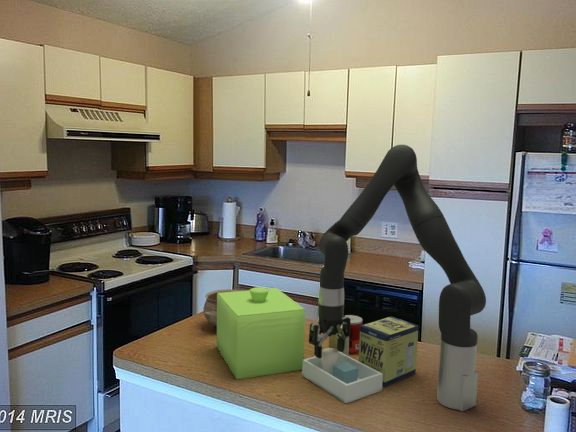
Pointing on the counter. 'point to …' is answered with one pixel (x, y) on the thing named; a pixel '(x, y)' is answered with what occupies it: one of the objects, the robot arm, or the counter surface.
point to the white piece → (329, 359)
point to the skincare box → (334, 343)
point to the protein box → (389, 348)
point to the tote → (364, 386)
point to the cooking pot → (213, 305)
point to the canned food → (354, 333)
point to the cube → (345, 372)
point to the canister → (260, 332)
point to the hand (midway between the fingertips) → (329, 354)
